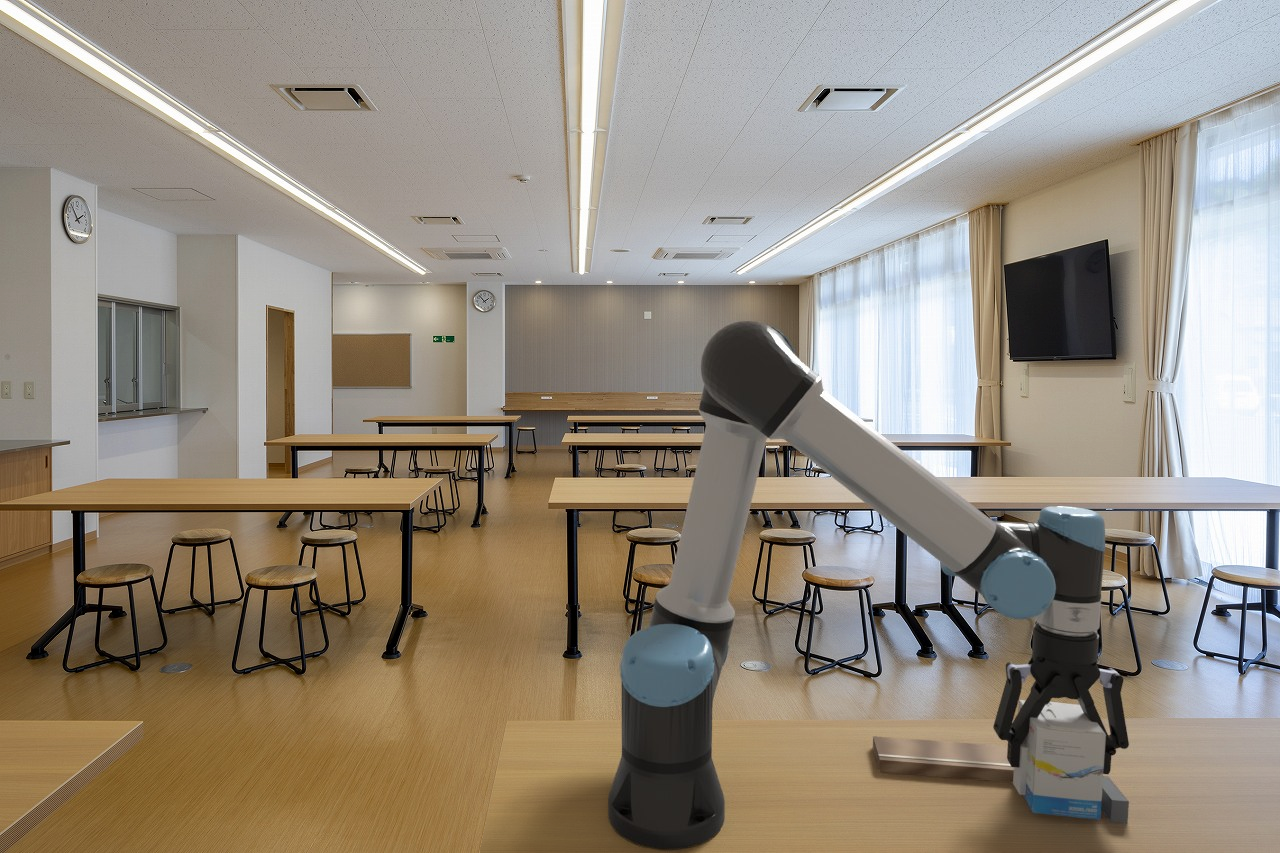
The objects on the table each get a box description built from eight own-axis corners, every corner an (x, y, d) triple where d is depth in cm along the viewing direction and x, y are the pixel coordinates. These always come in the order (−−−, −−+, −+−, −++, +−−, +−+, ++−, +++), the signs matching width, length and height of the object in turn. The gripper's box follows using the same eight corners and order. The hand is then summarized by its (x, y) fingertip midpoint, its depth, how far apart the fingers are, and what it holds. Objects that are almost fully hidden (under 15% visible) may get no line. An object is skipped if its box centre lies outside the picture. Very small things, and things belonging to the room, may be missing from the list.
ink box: (1102, 821, 100) (1108, 732, 99) (1030, 813, 102) (1035, 726, 100) (1079, 784, 108) (1084, 702, 107) (1013, 778, 110) (1017, 697, 109)
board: (879, 771, 113) (879, 759, 113) (872, 747, 120) (873, 735, 120) (1073, 787, 109) (1074, 774, 109) (1055, 761, 116) (1055, 748, 116)
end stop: (1110, 822, 101) (1112, 800, 101) (1091, 796, 107) (1092, 775, 107) (1127, 823, 101) (1128, 801, 101) (1107, 797, 107) (1108, 776, 107)
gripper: (987, 632, 101) (979, 800, 103) (1170, 642, 97) (1157, 816, 100) (972, 612, 108) (964, 770, 110) (1141, 621, 105) (1130, 783, 107)
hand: (1056, 792), depth 105 cm, fingers closed on ink box, 9 cm apart
